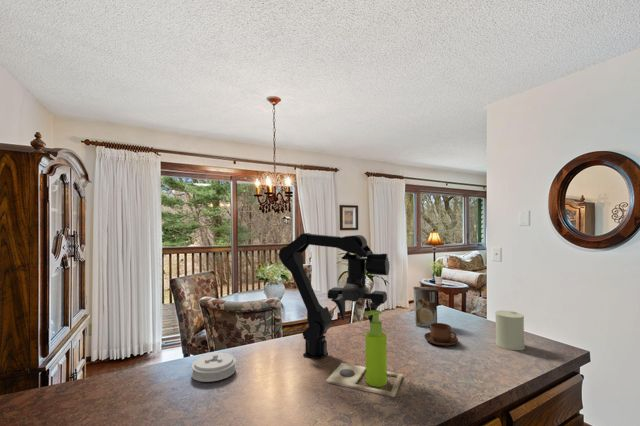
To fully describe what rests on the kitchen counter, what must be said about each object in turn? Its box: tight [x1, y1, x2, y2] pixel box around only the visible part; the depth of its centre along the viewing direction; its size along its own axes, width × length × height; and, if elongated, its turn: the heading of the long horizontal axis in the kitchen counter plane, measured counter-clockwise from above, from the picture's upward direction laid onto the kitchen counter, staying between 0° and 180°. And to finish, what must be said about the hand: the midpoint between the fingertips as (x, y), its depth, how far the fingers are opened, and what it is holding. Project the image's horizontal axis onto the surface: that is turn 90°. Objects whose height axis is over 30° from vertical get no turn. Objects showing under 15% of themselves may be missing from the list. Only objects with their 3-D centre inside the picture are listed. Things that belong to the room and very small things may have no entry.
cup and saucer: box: [423, 322, 459, 347], centre depth 121 cm, size 12×12×6 cm
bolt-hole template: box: [326, 362, 404, 398], centre depth 92 cm, size 19×12×1 cm, turn 66°
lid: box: [191, 352, 237, 383], centre depth 96 cm, size 13×13×5 cm
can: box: [494, 310, 526, 351], centre depth 118 cm, size 9×9×12 cm
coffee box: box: [413, 286, 438, 327], centre depth 142 cm, size 9×6×16 cm
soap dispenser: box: [362, 309, 388, 388], centre depth 91 cm, size 6×7×20 cm
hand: (357, 321), depth 104 cm, fingers open, 9 cm apart
